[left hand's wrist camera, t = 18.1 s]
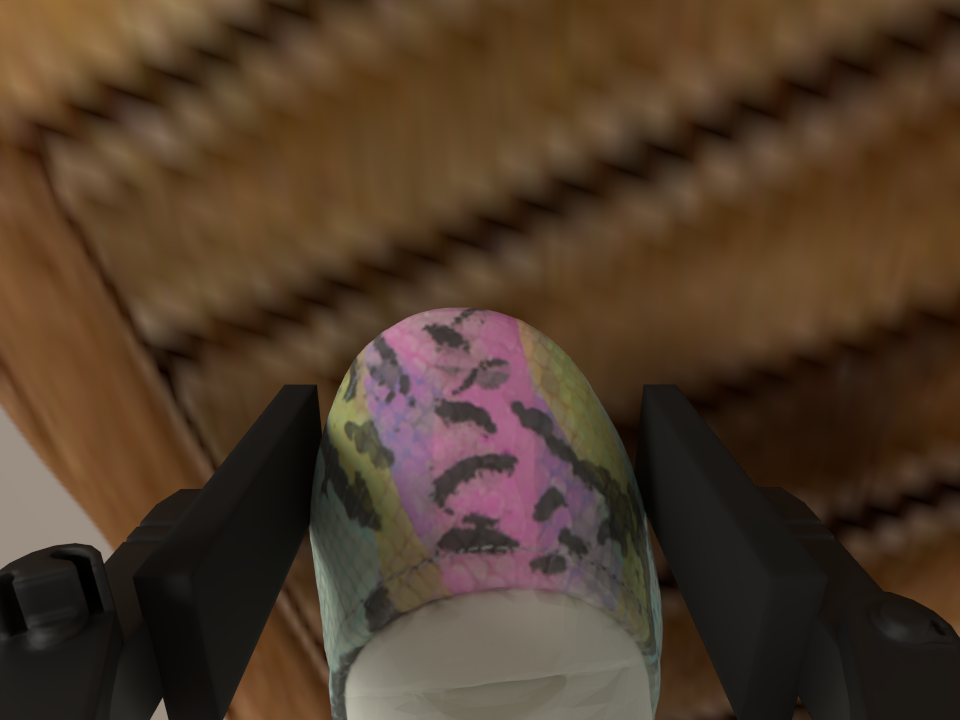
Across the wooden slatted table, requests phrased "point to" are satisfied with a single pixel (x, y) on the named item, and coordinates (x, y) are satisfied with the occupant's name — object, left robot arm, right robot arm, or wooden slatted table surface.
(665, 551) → the left robot arm
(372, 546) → the ballet flat
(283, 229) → the wooden slatted table surface
